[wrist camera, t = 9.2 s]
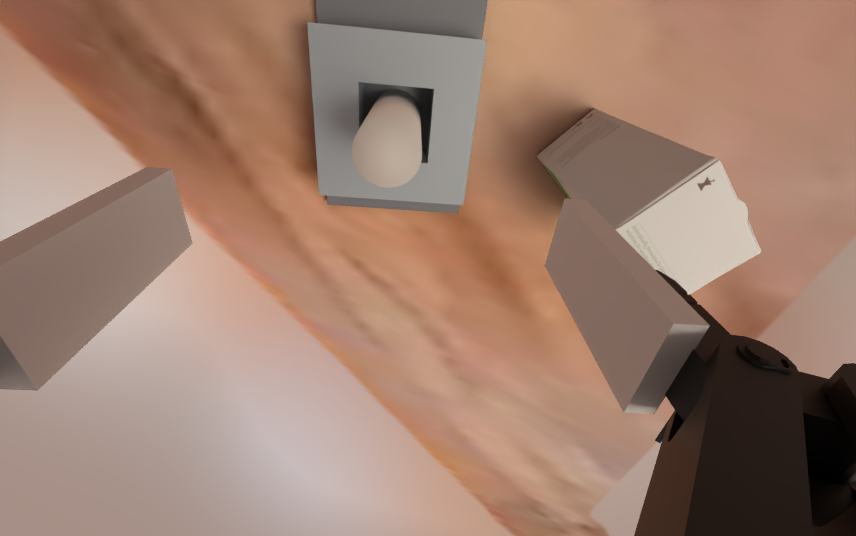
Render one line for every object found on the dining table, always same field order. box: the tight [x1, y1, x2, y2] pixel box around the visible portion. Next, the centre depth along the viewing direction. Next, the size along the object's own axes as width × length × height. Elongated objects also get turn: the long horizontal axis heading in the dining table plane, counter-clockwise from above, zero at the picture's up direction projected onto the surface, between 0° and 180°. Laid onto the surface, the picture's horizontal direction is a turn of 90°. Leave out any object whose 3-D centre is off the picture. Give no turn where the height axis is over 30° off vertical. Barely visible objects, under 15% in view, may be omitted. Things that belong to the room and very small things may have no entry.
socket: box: [307, 0, 487, 213], centre depth 31 cm, size 17×12×5 cm
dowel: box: [352, 89, 422, 188], centre depth 27 cm, size 4×4×12 cm
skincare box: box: [537, 109, 761, 295], centre depth 29 cm, size 8×7×16 cm
